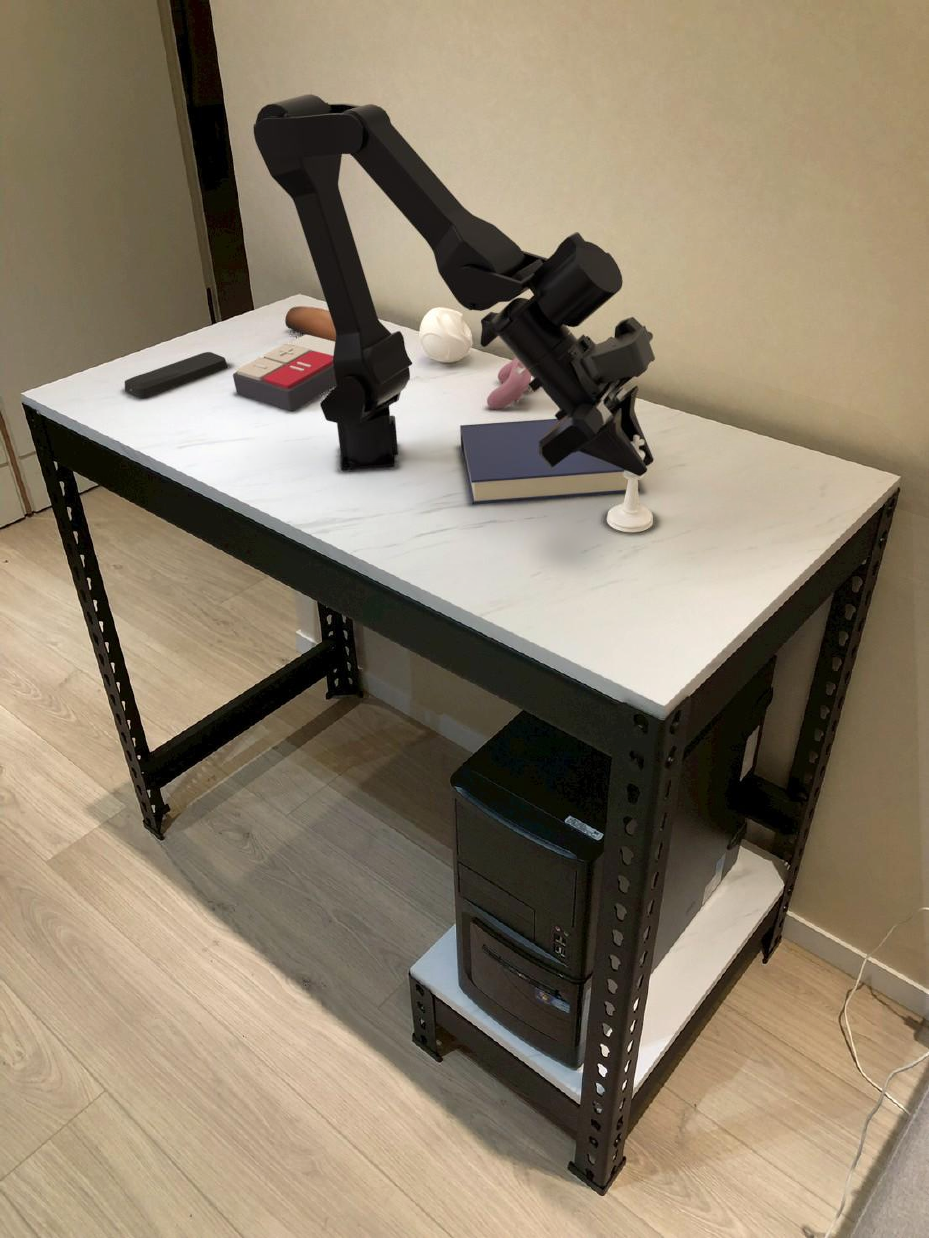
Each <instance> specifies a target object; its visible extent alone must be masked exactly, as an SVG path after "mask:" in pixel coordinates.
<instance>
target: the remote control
mask: <svg viewBox="0 0 929 1238" xmlns="http://www.w3.org/2000/svg"><path fill="white" fill-rule="evenodd" d="M226 368H228V362H227V360H226V357H224V356H222V355H220V354H216V353H214V352H212V351H206V352H202V353H198V354H196V355H193V356H190V357H188V358H184V359H182V360H178V361H176V362H174V363H173V362H172V363H171V364H167V365H165V366H161V367H159V368H156V369H153V370H151V371H148V372H145V373H142V374H138V375H135V376H132V377H130V378H128V379H126V380H124V392H127V393H128V394H130V395H132V396H135V398H139V399H144V398H149V397H152V396H154V395H157V394H159V393H162V392H165V391H167V390H170V389H173V388H175V387H178V386H182V385H183V384H186V383H189V382H192V381H195V380H197V379H199V378H202V377H206V376H208V375H211V374H213V373H216V372H218V371H221V370H224V369H226Z"/></svg>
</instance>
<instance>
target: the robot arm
mask: <svg viewBox="0 0 929 1238" xmlns="http://www.w3.org/2000/svg"><path fill="white" fill-rule="evenodd" d="M391 121H392V120H391V118H390V116H389V114H388V113H387V111H386V110H385V109H383V108H382V107H381V106H379V105H376V104H373V103H369V104H368V103H367V104H364V105H358V104H353V103H352V104H351V103H328V102H325V100H323V99H322V98H321V97H319V96H317V95H314V94H311V93H309V94H303V95H299V96H295V97H291V98H287V99H284V100H279V101H275V102H272V103H268V104H266V105H265V106H263V107H261V109H260V110H259V112H258V113H257V116H256V119H255V123H253V126H252V127H253V136H254V141H255V145H256V146H257V149H258V151H259V153H260V155H261V158H262V160H263V162H264V164H265V166H266V169H267V170H268V173H269V175H270V176H271V178H272V180H274V181H275V182H276V183H277V184H278V185H279V186H280V187H281V188H282V190H284V192H285V193H286V194H287V195H288V196H289V197H290V198H291V200H292V202H293V204H294V207H295V210H296V213H297V216H298V218H299V223H300V225H301V228H302V231H303V235H304V238H305V240H306V244H307V247H308V250H309V254H310V257H311V260H312V263H313V265H314V269H315V271H316V275H317V279H318V282H319V285H320V287H321V290H322V293H323V297H324V300H325V302H326V307H327V309H328V311H329V312H330V315H331V318H332V322H333V325H334V328H335V332H336V340H335V347H334V354H333V362H332V363H333V369H334V374H335V379H336V384H337V385H336V386H335V387H333V388H332V389H331V391H330V392H329V393H328V394H327V395H326V396H325V397H324V398H323V399H322V400H321V401H320V402H319V406H320V408H321V411H322V413H323V416H324V419H325V420H326V421H328V422H332V423H335V424H336V427H337V435H338V443H339V453H340V456H339V459H340V460H339V464H340V465H339V467H340V468H339V469H340V470H341V471H343V472H344V471H346V472H347V471H349V472H350V471H361V470H374V469H389V468H394V467H395V466H396V460H395V459H396V458H395V457H397V456H398V455H399V447H398V436H397V434H398V433H397V422H396V416H394V415H391V412H390V411H391V409H390V406H392V405H393V404H395V403H397V402H399V400H400V396H401V393H402V391H403V390H404V389H406V387H407V385H408V383H409V381H410V378H411V372H410V367H411V366H412V365H413V362H412V360H411V358H410V356H409V354H408V352H407V350H406V344H405V343H406V342H405V337H404V335H403V333H402V332H401V331H400V330H397V331H394V332H392V333H391V331H390V330H389V329H387V328H386V326H385V325H384V324H383V323H382V322H381V321H380V319H379V317H378V314H377V311H376V308H375V305H374V300H373V297H372V294H371V291H370V288H369V284H368V281H367V277H366V275H365V271H364V267H363V265H362V261H361V258H360V255H359V251H358V248H357V244H356V241H355V238H354V234H353V231H352V228H351V224H350V221H349V219H348V214H347V212H346V208H345V204H344V202H343V198H342V194H341V192H340V191H341V190H340V186H339V180H340V172H341V164H342V158H343V155H350V156H351V157H352V158H353V159H354V160H355V161H356V163H358V165H359V166H360V167H361V168H362V169H363V170H364V171H365V173H366V174H367V175H368V176H369V177H370V178H371V179H372V181H373V182H374V183H375V184H376V185H377V186H378V187H379V188H380V190H381V191H382V192H383V193H384V194H385V196H386V197H387V198H388V199H389V200H390V202H392V204H393V205H394V206H395V207H396V208H397V210H399V212H400V213H401V214H402V215H403V216H404V217H405V219H406V220H407V221H408V222H409V224H411V225H412V227H413V228H414V229H415V230H416V231H417V232H418V234H419V235H421V237H422V238H423V239H424V241H425V242H426V243H427V245H428V246H429V247H430V249H431V251H432V253H433V256H434V260H435V263H436V267H437V271H438V274H439V275H440V277H441V279H442V281H443V282H444V283H445V285H446V286H447V288H448V289H449V291H450V292H451V294H452V296H453V297H454V298H455V300H456V302H457V303H459V305H461V306H462V307H463V308H464V309H467V310H468V311H479V312H483V311H486V310H490V309H491V308H493V307H494V306H496V305H497V304H499V303H508V304H507V305H505V306H504V308H502V309H501V310H500V311H499V312H494V311H490V312H488V313H487V314H486V315H485V316H484V317H482V318H481V319H480V325H481V334H480V345H481V347H483V348H486V347H488V346H489V345H490V344H491V343H492V342H493V341H494V340H495V339H497V338H499V339H500V340H501V341H502V343H503V344H504V345H505V346H506V348H507V349H508V350H509V351H510V352H511V353H512V354H513V356H514V358H515V357H516V358H517V359H518V360H519V361H520V362H521V364H522V365H523V366H524V367H525V368H526V370H528V369H529V370H528V372H529V373H530V374H531V375H532V376H531V378H533V379H531V381H530V383H529V384H528V385H529V386H530V387H531V388H532V389H531V391H533V392H534V393H535V392H536V391H538V390H539V389H540V388H542V390H543V391H544V392H545V393H546V395H547V396H548V397H549V398H550V400H552V402H553V403H554V404H555V405H556V406H557V407H558V411H556V413H555V414H554V417H555V419H558V420H559V422H557V423H556V424H555V425H553V426H552V427H551V428H550V429H549V430H548V432H547V433H546V434H545V435H544V436H543V437H542V439H541V440H540V441H539V454H540V456H541V457H542V458H543V459H544V460H545V461H546V463H547V464H548V465H549V466H550V467H551V468H552V467H554V466H555V465H556V464H558V463H559V462H560V461H562V460H563V459H564V458H566V457H567V456H569V455H570V454H571V453H576V452H577V451H579V452H582V453H584V454H587V455H590V456H593V457H596V458H598V459H601V460H603V461H606V462H608V463H611V464H613V465H615V466H617V467H620V468H622V469H624V470H626V471H629V472H631V473H633V474H635V475H638V476H642V475H643V474H644V475H645V474H646V473H647V472H648V470H649V469H648V467H649V466H650V465H652V464H653V463H654V460H655V458H654V456H653V454H652V451H651V449H650V447H649V444H648V441H647V439H646V437H645V434H644V431H643V430H642V428H641V425H640V422H639V420H638V417H637V413H636V411H635V406H636V405H635V404H636V400H637V394H638V392H639V386H638V385H635V386H634V387H633V388H631V389H630V390H629V391H627V390H626V389H625V387H623V386H625V385H626V384H627V383H628V382H629V381H631V380H632V379H633V378H639V377H640V376H642V374H644V373H645V372H647V370H648V368H649V365H650V363H651V362H654V361H655V360H656V357H655V354H654V351H653V348H652V345H651V342H652V341H653V338H654V335H653V333H652V332H651V331H649V330H648V329H647V327H646V325H642V324H641V323H640V322H639V321H638V320H637V319H636V318H635V317H634V316H631V317H628V318H625V319H622V320H620V321H619V322H618V323H617V324H616V325H615V328H614V337H613V336H610V337H608V338H607V339H606V340H604V341H602V342H599V343H595V342H594V341H593V340H592V338H591V337H590V336H588V335H586V336H585V334H582V335H581V336H579V337H578V338H577V337H576V336H575V335H574V334H573V332H572V331H571V330H570V329H569V328H576V327H579V326H580V325H581V324H583V323H584V322H585V321H586V320H587V319H588V318H590V317H591V316H593V314H594V313H595V312H597V311H598V310H599V309H600V308H601V307H602V306H604V305H605V304H606V303H607V302H608V301H609V300H611V298H613V297H614V296H615V295H616V294H618V293H619V292H620V291H621V290H622V288H623V283H624V281H623V275H622V273H621V270H620V267H619V265H618V263H617V262H616V260H615V258H614V257H613V256H612V255H611V253H609V252H605V250H604V249H603V248H601V247H600V246H599V245H597V244H595V243H594V242H591V241H587V240H585V239H584V237H583V236H582V235H581V234H580V232H578V231H575V232H574V233H572V234H570V235H569V236H567V237H566V238H564V240H563V241H561V243H560V244H558V247H557V248H556V249H555V251H554V252H553V253H552V254H551V255H550V256H549V258H547V257H545V256H541V255H538V254H535V253H531V252H529V251H526V250H523V249H521V247H520V246H519V245H518V244H517V243H516V242H515V241H514V240H513V239H512V238H510V237H509V236H508V235H507V234H505V232H503V231H502V230H500V229H499V227H497V226H496V225H495V224H493V223H491V222H489V221H486V220H485V219H482V218H480V217H478V216H477V215H474V214H472V213H471V212H470V211H469V210H468V209H466V208H465V207H464V206H463V205H462V203H461V202H460V201H459V200H458V199H457V197H456V196H454V194H453V193H452V192H451V191H450V190H449V189H448V187H447V186H446V185H445V184H444V183H443V181H441V179H440V178H439V177H438V176H437V174H435V172H433V170H432V169H431V168H430V167H429V165H428V164H427V162H425V161H424V160H423V158H422V157H421V156H420V155H419V154H418V153H417V152H416V150H415V149H414V148H413V147H412V146H411V145H410V144H409V142H408V141H407V140H406V139H405V138H404V137H403V136H402V134H401V133H400V132H399V131H398V130H397V129H396V127H395V126H394V125H393V124H392V122H391ZM529 290H530V292H531V293H532V294H533V295H532V296H531V297H530V298H525V297H519V296H521V295H522V294H524V293H525V292H527V291H529ZM568 327H569V328H568ZM634 435H638V436H640V438H639V440H640V439H643V440H644V445H640V446H639V450H642V451H643V452H644V453H645V457H644V459H643V460H642V458H641V457H640V455H639V454H638V452H637V451H636V449H635V448H634V446H633V445H632V443H631V442H632V441H633V438H634Z"/></svg>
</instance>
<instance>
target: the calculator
mask: <svg viewBox="0 0 929 1238" xmlns="http://www.w3.org/2000/svg"><path fill="white" fill-rule="evenodd" d="M334 347H335V342H334V341H330V340H326V339H322V338H318V337H314V336H311V335H306V334H302V335H301V336H300V337H298V338H295V339H294V340H292V341H290V342H289V343H284V344H282V345H280V346H278V347H276V348H274V349H273V350H271V351H269V352H267V353H265V354H263V357H257V358H256V359H254V360H252V361H250V362H248V363H246V364H244V365H242V366H241V367H239V368H237V369H236V372H234V373H233V374H232V377H233V383H234V387H235V391H236V394H237V395H240V396H243V397H245V398H248V399H252V400H255V401H258V402H262V403H264V404H268V405H271V406H274V407H277V408H280V409H283V410H287V411H290V412H293V411H296V410H297V409H299V408H302V407H303V406H305V405H306V404H308V403H310V402H311V401H313V400H314V399H316V398H318V397H320V396H321V395H323V394H324V393H327V392H328V391H329V390H332V389H334V388H335V387H336V386H337V384H336V379H335V374H334V369H333V363H332V362H333V354H334Z"/></svg>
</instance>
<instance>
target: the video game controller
mask: <svg viewBox="0 0 929 1238" xmlns="http://www.w3.org/2000/svg"><path fill="white" fill-rule="evenodd" d="M528 370H529V369H528ZM528 370H526V368H525V367H524V366H523V365H522V364H521V362H520V361H519V360H518V359H517V358H516V357H515V356H514V358H513V359H512V360H511V361H510V362H508V363H507V364H505V365H504V366H502V367H501V368H500V370H499V372H498V374H497V379H498V382H500V384H501V385H499V386H498V387H497V388H495V389H494V390H493V391H491V392H490V393H489V395H488V396H487V399H486V404H487V407H488V408H491V409H492V410H497V409H503V408H505V407H507V406H509V405H511V404H513V403H516V404H517V403H518V401H519V399H520V398H522V396H523V394H524V393H525V392H528V393H529V392H530V391H532V388H531V387H530V386H529V385H528V384H529V383H530V382H531V381H532V375H531V374H530V373H529V372H528Z"/></svg>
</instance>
